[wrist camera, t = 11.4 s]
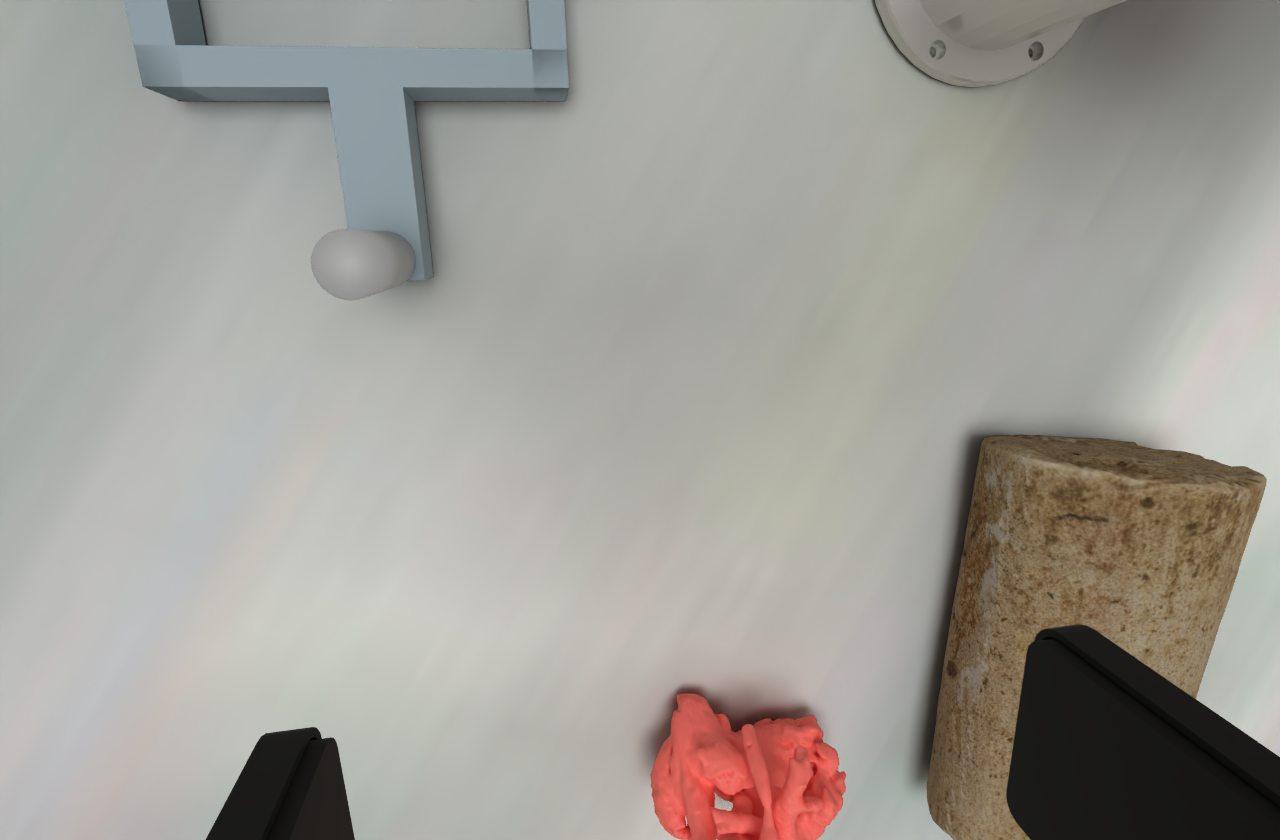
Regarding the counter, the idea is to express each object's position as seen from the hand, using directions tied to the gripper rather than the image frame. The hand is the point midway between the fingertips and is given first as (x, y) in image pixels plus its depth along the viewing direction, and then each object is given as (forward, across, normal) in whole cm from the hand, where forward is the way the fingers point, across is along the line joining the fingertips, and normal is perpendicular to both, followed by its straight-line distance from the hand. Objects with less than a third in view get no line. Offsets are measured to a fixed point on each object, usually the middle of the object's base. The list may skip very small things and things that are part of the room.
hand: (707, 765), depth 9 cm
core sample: (+29, -30, +18) cm, 45 cm away
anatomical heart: (+29, -9, +25) cm, 39 cm away
